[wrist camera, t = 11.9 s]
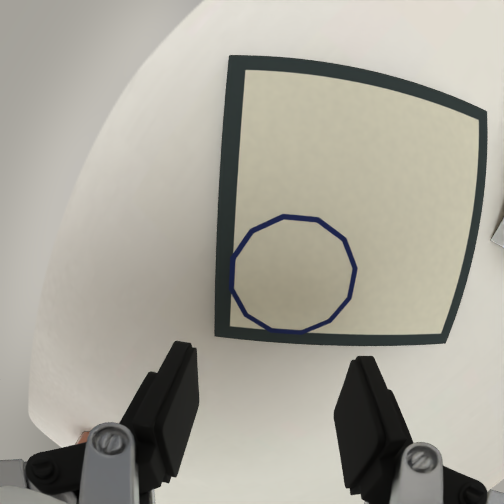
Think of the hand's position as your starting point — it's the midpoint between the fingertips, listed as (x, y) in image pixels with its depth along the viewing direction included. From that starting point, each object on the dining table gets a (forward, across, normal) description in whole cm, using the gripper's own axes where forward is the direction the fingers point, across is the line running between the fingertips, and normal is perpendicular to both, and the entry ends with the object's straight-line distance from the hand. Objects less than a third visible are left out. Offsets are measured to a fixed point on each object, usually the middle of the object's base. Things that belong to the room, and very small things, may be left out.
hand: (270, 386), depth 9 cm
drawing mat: (+8, -5, -5) cm, 11 cm away
